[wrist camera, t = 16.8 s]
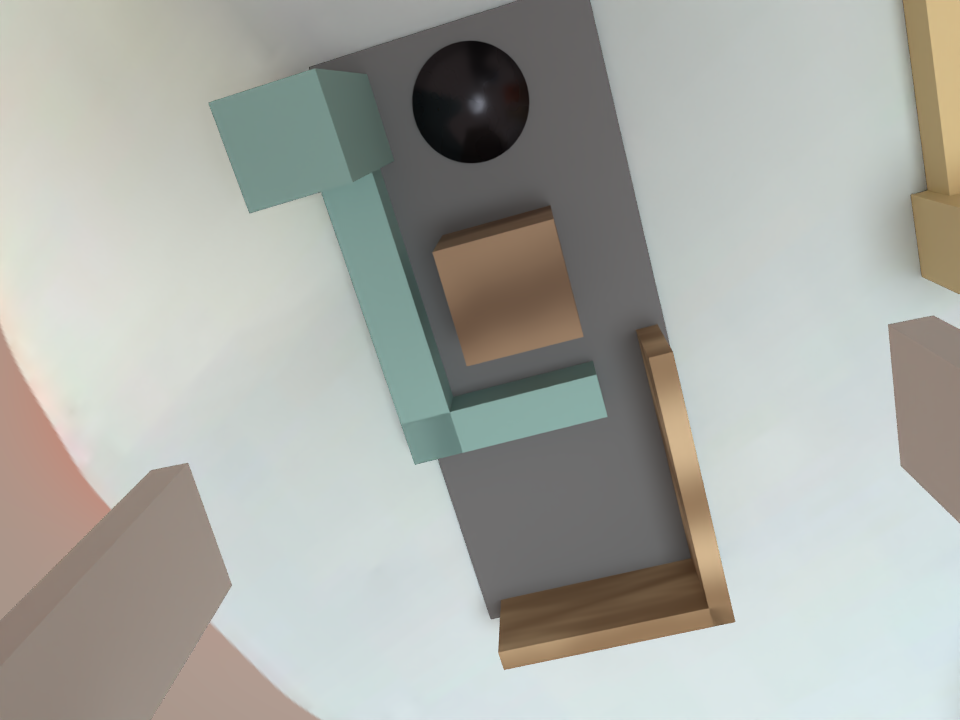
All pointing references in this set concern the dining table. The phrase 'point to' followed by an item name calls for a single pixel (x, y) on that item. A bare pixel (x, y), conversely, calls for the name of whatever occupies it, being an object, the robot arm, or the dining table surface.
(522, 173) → the runner mat
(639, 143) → the dining table surface
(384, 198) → the crook
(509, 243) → the walnut block
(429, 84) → the black round disc
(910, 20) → the yellow l-shaped block
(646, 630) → the wooden l-shaped bracket
